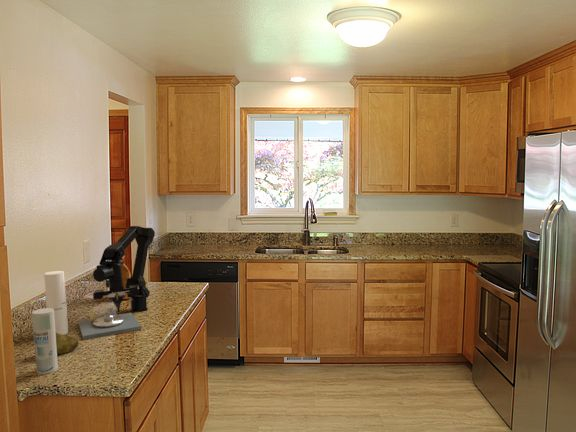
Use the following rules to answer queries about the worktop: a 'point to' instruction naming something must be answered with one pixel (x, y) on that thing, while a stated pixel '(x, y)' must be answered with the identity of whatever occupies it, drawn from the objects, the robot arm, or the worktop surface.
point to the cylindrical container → (57, 299)
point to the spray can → (45, 340)
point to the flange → (109, 318)
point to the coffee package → (124, 277)
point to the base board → (93, 332)
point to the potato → (65, 343)
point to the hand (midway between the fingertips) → (118, 311)
